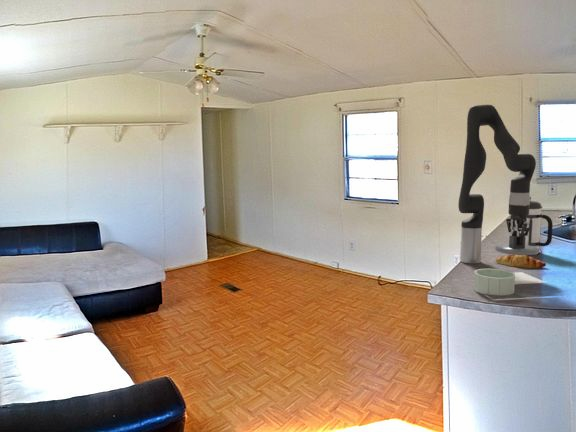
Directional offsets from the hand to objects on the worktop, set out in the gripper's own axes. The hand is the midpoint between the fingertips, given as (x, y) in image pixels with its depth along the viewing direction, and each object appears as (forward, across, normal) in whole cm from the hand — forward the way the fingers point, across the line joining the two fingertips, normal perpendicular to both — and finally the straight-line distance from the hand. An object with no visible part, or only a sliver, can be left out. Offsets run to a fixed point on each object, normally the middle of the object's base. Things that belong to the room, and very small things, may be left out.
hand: (517, 244), depth 179 cm
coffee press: (+16, -44, +35) cm, 58 cm away
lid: (+3, 0, 0) cm, 3 cm away
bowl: (+15, +13, -17) cm, 26 cm away
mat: (+15, 0, 0) cm, 15 cm away
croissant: (+16, -20, +14) cm, 29 cm away
